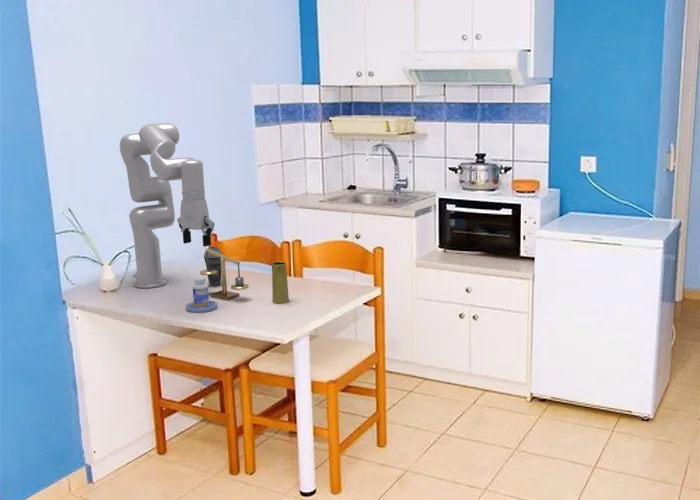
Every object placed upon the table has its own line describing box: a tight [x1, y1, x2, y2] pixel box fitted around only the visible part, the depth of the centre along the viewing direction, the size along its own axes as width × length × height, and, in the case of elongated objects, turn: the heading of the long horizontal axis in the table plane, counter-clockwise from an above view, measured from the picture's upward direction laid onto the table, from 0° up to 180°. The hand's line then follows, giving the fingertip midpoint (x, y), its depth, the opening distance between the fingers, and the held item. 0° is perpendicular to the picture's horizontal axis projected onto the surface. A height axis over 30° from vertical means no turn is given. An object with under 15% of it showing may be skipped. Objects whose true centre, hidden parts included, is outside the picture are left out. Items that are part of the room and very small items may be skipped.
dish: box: [185, 300, 218, 314], centre depth 273 cm, size 11×11×1 cm
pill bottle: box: [192, 276, 210, 306], centre depth 272 cm, size 5×5×10 cm
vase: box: [271, 261, 290, 304], centre depth 278 cm, size 6×6×14 cm
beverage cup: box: [203, 244, 223, 288], centre depth 301 cm, size 7×7×20 cm
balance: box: [199, 248, 249, 301], centre depth 285 cm, size 22×6×18 cm, turn 55°
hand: (197, 244), depth 268 cm, fingers open, 9 cm apart
